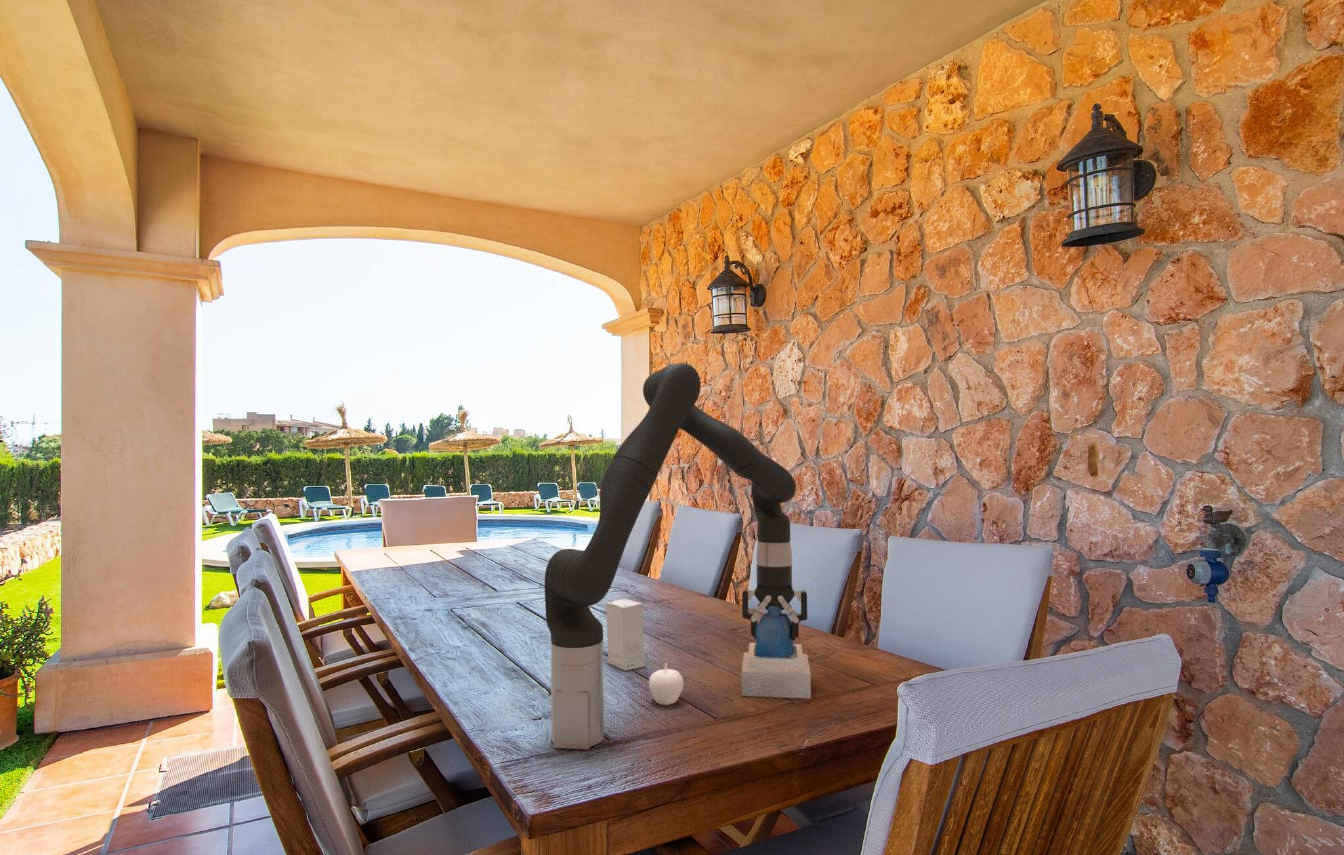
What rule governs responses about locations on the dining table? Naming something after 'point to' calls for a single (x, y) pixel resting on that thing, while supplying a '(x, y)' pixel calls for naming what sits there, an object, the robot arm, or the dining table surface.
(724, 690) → the dining table surface
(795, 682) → the white square stand
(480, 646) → the dining table surface
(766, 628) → the perfume bottle
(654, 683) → the plain white apple
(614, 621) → the skincare box
